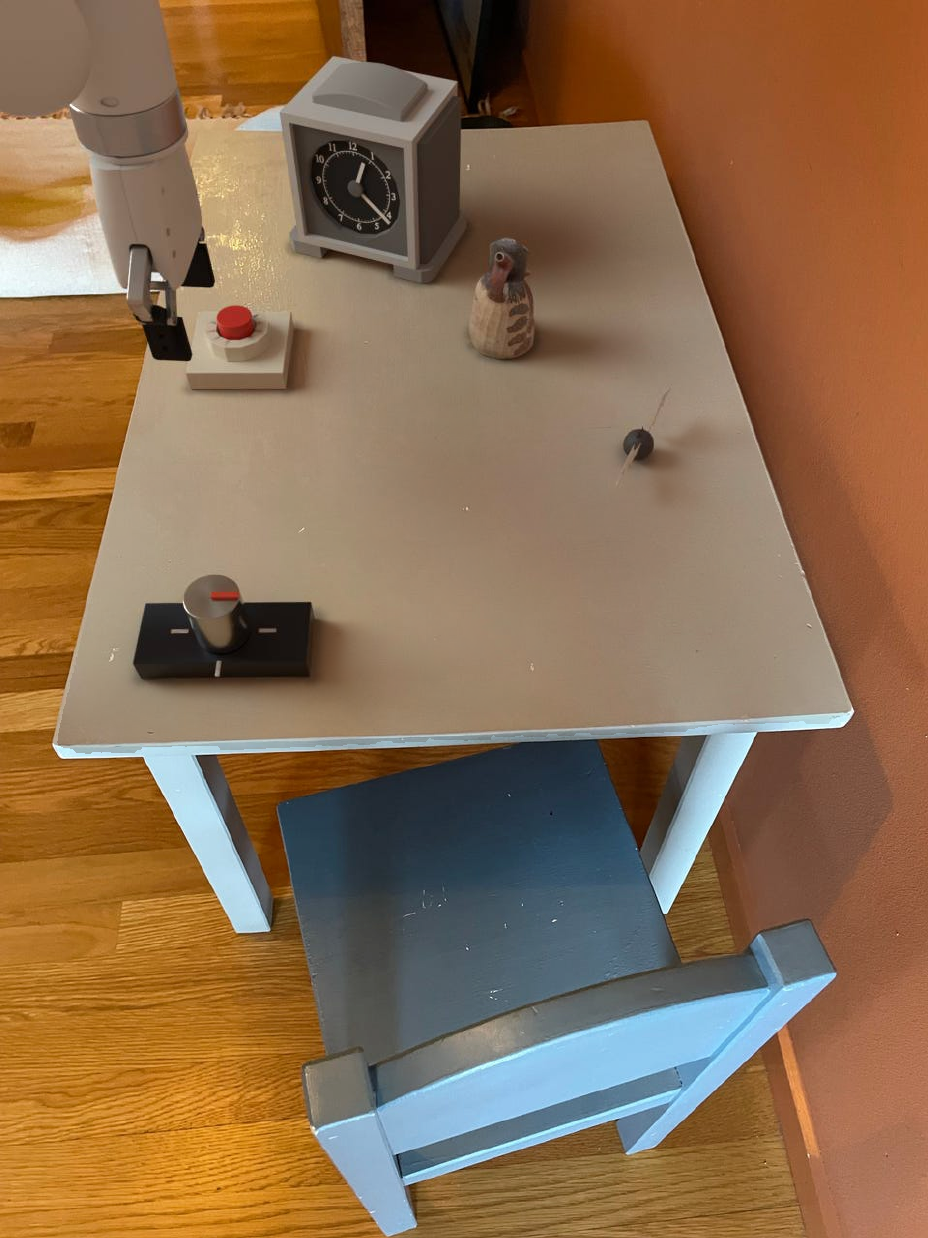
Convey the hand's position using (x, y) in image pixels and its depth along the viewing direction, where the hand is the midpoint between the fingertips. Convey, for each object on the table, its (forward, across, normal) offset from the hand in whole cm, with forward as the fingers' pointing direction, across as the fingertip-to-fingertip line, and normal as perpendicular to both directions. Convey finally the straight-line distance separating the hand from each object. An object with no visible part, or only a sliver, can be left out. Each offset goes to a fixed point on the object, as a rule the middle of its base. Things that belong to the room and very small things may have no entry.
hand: (185, 320), depth 77 cm
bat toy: (+15, -1, +41) cm, 44 cm away
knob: (+13, +23, +5) cm, 27 cm away
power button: (+12, -14, 0) cm, 18 cm away
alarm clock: (+15, -36, +13) cm, 41 cm away
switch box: (+15, -14, 0) cm, 20 cm away
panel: (+15, +23, +5) cm, 28 cm away
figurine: (+15, -18, +28) cm, 37 cm away
